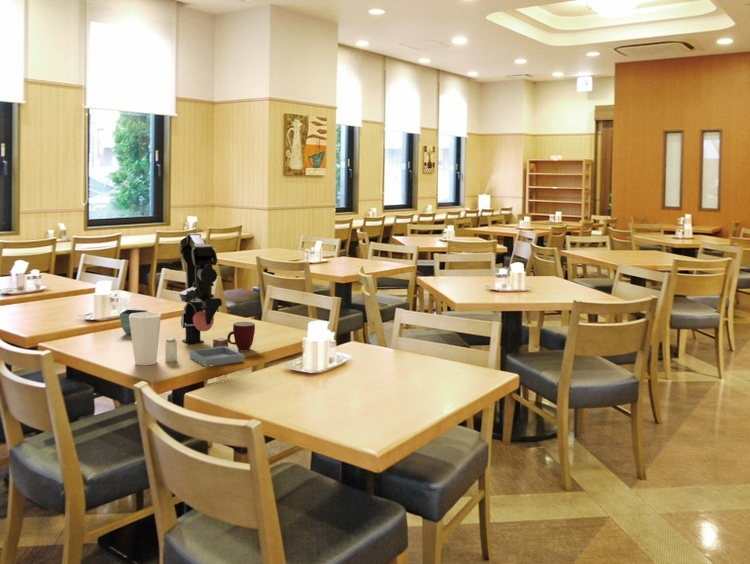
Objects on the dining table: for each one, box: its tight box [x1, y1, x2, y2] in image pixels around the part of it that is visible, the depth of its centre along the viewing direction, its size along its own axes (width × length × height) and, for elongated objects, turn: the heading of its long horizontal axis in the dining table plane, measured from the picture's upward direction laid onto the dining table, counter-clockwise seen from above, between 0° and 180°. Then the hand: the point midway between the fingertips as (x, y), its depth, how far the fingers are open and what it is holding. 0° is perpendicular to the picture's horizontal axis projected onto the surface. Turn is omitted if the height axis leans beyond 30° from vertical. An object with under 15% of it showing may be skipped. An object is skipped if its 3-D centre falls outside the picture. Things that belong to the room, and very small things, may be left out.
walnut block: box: [212, 337, 229, 348], centre depth 272 cm, size 4×4×4 cm
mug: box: [226, 321, 256, 352], centre depth 272 cm, size 11×8×10 cm
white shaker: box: [164, 337, 178, 363], centre depth 254 cm, size 4×4×8 cm
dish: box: [189, 346, 244, 367], centre depth 257 cm, size 14×14×3 cm
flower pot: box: [119, 309, 149, 335], centre depth 293 cm, size 9×9×9 cm
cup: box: [129, 311, 162, 366], centre depth 249 cm, size 11×10×17 cm
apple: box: [193, 309, 215, 332], centre depth 260 cm, size 7×7×8 cm
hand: (203, 322), depth 261 cm, fingers closed on apple, 7 cm apart
